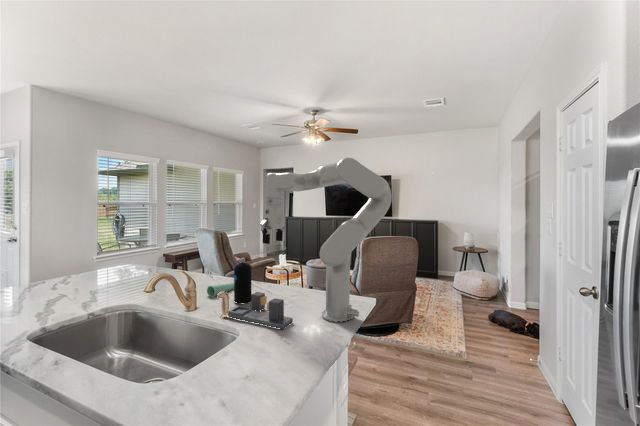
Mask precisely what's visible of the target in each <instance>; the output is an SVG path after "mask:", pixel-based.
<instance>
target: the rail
mask: <svg viewBox="0 0 640 426" xmlns="http://www.w3.org/2000/svg"><path fill="white" fill-rule="evenodd" d="M284 310H285V299H281V298H273V299H271V300H269V301H268V302H267V303H266V311H267V312H264V311H261V312H260V311H255V310H252V308H251V307H248V306H242V305H238V306H232V307H231V308H229V311H228V314H229V316H230V317H232V318H236V319H240V320H245V321H248V322H254V323H259V324H263V325H267V326H271V327H276V328H280V329H284V328H285V327H287V326H288V325H289V324H291V323H292V322H293V319H294V318H293V317H289V316H285V311H284ZM292 324H293V323H292ZM292 324H291V325H292ZM289 326H290V325H289ZM289 326H288V327H289ZM288 327H287V328H288ZM285 329H286V328H285ZM285 329H284V330H285Z"/></svg>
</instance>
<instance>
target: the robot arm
mask: <svg viewBox="0 0 640 426" xmlns="http://www.w3.org/2000/svg"><path fill="white" fill-rule="evenodd" d="M265 180H266V181H265V202H264V203H265V204H264V212H263V219H262V221H261V223H259V227H260V232H261V235H262V244H264V245H265V244H266V245H270V241H271V240H270V239H271V234H270V232H271V230H273V231H275V230H276V232H275V241H276V242H277V241H278V242H283V241H284V240H283V238H284V237H283V236H284V231H285V230H284V229H285V226H286V220H285V208H284V207H285V206H284V193H285V192H284V191H287V192H302V191H303V192H304V191H310V190H316V189H321V188H325V187H331V186H336V185H337V186H338V185H343V184H348V185H349V186H351V187H352V188H354V189H355V190H357V191H358V192H360V193H361V194H362V195H363V196H366V197H367V198H368V200H367V202H366V203H365V204H364V205H363V206H361V208H360V209H359V211H357V213H355V215H354V216H353V217H352V218H350V219H347V220H345V221H344V222H342V223H341V224H340V225H339V226H338V227H337V228H336V230H335V231H333V233H332V234H331V235H330V236H329V237H328V238H327V239H326V241H325V242H324V243H322V245H321V246H320V250H319V259H320V260H321V262H322V263H323V264H324V265H325V266H326V267H325V268H326V269H325V270H326V271H325V310H323V311H322V312H321V317H322V318H323V319H324V318H325V319H327V320H326V321H328V320H330V321H329V322H331V321H346V322H348V321H347V320H349V321H351V320H353V318H354V317H357V318H359V316H360V311H359V310H358V309H356V308H355V309H354V308H353V305H352V304H350V294H351V293H350V287H351V284H350V281H351V280H350V279H351V260H352V252H353V251H354V249H356V248H357V247H358V245H360V244H361V243H362V242H363V241H364V240H365V239H366V238H367V236H368V235H369V234H370V233H371V231H372V230H373V229H374V228H375V227H376V226H377V224H378V223H380V221H381V220H382V219H383V218H384V216H385V215H386V214H387V212H388V211H389V209H390V207H391V205H392V189H391V187H390V184H389V183H388V181H387V180H386V179H385V178H384V177H382V176H380V175H379V174H378V173H376V172H374V171H372V170H371V169H370V168H368V167H366V166H364V165H363V164H362V163H361V162H359V161H358V160H356V159H355V158H354V157H344V158H342V159H341V160H339V162H335V163H330V164H324V165H320V166H319V167H318V168H317V169H316V170H313V171H309V172H306V173H295V172H281V173H280V172H269V173H266V178H265ZM325 319H324V320H325ZM350 319H351V320H350Z"/></svg>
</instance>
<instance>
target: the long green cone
mask: <svg viewBox="0 0 640 426" xmlns="http://www.w3.org/2000/svg"><path fill="white" fill-rule="evenodd" d="M229 290H230V291H231V290H234V282H228V283H220V284H212V285H209V286H207V288H206V294H207V295H208V297H211V298H212V297H213V298H214V297H217V296H218V295H217V294H218V293H219V292H220V291H227V292H229ZM216 295H217V296H216Z"/></svg>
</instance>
